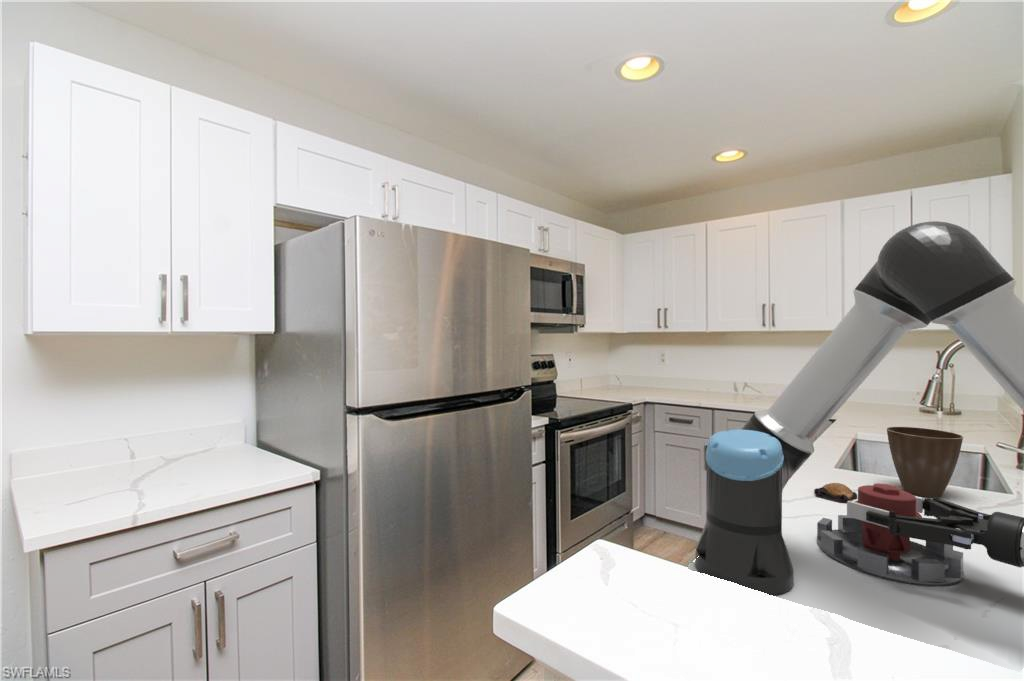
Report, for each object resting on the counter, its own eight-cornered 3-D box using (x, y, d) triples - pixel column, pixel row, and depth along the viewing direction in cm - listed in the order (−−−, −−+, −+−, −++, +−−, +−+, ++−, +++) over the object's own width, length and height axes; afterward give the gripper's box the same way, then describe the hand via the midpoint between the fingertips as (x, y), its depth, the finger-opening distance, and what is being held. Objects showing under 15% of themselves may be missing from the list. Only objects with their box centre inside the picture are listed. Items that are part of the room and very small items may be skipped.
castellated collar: (801, 553, 87) (802, 534, 87) (834, 523, 101) (834, 507, 101) (956, 601, 71) (956, 577, 71) (969, 558, 85) (969, 538, 85)
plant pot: (909, 481, 131) (910, 425, 131) (976, 499, 117) (977, 435, 117) (872, 487, 126) (873, 428, 126) (937, 506, 112) (938, 439, 112)
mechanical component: (899, 543, 90) (935, 569, 80) (841, 539, 92) (870, 563, 82) (900, 480, 90) (936, 497, 80) (842, 476, 92) (870, 493, 82)
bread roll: (823, 489, 126) (823, 476, 126) (861, 497, 120) (861, 483, 120) (809, 498, 119) (809, 483, 119) (848, 507, 113) (848, 491, 113)
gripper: (1003, 591, 64) (832, 535, 82) (1047, 549, 78) (892, 508, 96) (1003, 537, 64) (832, 493, 82) (1048, 504, 77) (892, 472, 96)
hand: (864, 501), depth 89 cm, fingers open, 13 cm apart
